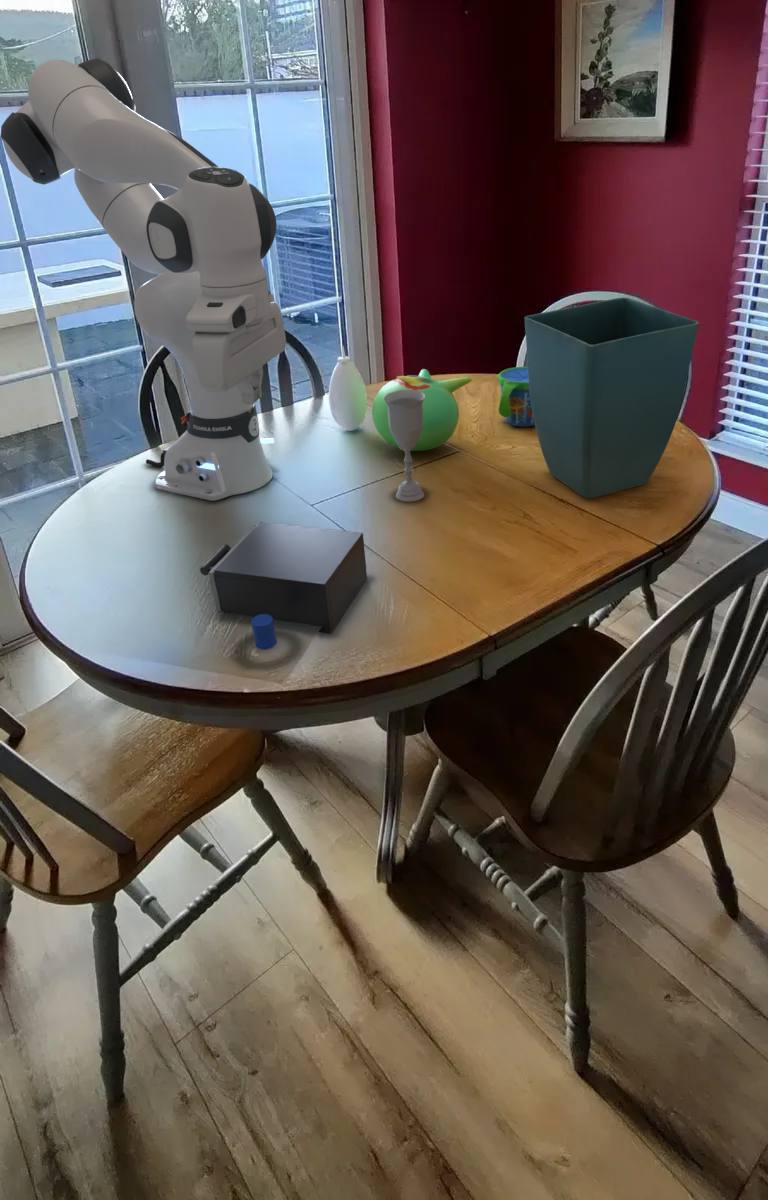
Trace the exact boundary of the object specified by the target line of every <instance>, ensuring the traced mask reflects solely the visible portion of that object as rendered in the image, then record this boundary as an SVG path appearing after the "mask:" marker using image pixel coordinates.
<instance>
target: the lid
mask: <svg viewBox="0 0 768 1200" xmlns="http://www.w3.org/2000/svg"><path fill="white" fill-rule="evenodd" d="M251 627H252V632H253V636H254V637H253V638H254V643H255V647H256V648H257V649H260V650H269V649H272V648H274V647H275V646H276V645H277V642H278V641H277V636H276V630H275V623H274V620H273V618H272V616H270V615H268V614H260V615H257V616H255V617H252V619H251Z"/></svg>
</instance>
